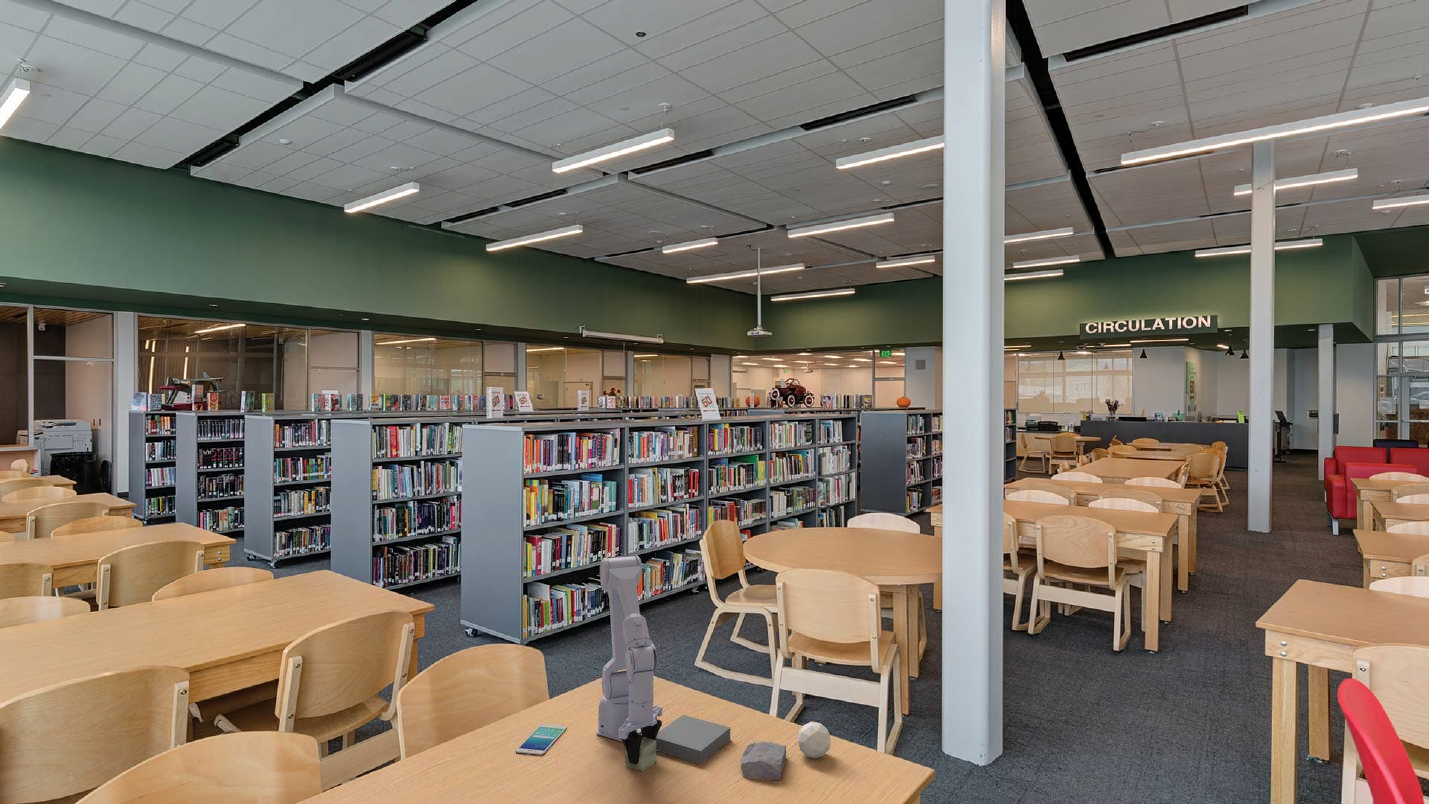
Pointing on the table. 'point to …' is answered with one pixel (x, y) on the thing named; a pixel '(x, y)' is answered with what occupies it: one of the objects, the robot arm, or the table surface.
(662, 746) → the stacking base
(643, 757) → the sage green cube
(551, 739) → the smartphone
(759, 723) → the table surface
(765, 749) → the stone block
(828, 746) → the geometric ball
